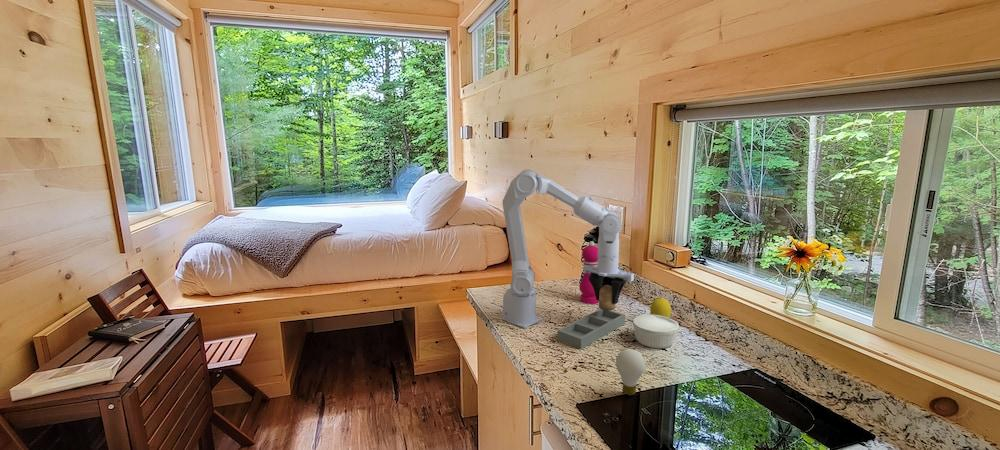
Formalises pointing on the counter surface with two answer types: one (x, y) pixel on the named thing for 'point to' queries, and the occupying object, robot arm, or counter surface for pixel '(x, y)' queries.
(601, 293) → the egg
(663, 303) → the lemon
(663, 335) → the ramekin
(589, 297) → the pepper mill
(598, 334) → the tray
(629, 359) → the light bulb
